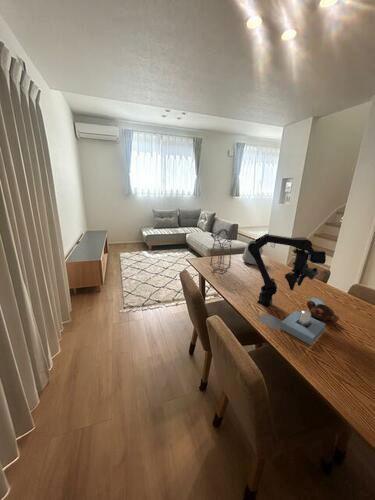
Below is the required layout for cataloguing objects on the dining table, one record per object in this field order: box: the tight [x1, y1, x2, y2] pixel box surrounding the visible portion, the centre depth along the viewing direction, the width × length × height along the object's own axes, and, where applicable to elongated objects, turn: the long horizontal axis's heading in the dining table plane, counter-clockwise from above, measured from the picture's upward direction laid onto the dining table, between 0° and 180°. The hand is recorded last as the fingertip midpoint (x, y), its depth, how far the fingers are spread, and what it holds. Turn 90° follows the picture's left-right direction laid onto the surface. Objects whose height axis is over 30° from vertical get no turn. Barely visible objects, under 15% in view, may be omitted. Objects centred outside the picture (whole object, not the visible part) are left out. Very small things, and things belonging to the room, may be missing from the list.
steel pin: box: [298, 309, 311, 328], centre depth 97 cm, size 4×4×10 cm
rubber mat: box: [256, 312, 283, 330], centre depth 104 cm, size 10×10×1 cm
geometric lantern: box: [209, 228, 237, 274], centre depth 161 cm, size 16×16×35 cm
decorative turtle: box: [306, 300, 340, 323], centre depth 107 cm, size 10×15×8 cm, turn 51°
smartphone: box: [307, 297, 327, 306], centre depth 120 cm, size 7×1×15 cm
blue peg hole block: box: [279, 310, 327, 346], centre depth 98 cm, size 14×16×4 cm
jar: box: [241, 243, 264, 266], centre depth 182 cm, size 19×15×25 cm
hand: (295, 287), depth 113 cm, fingers open, 9 cm apart
